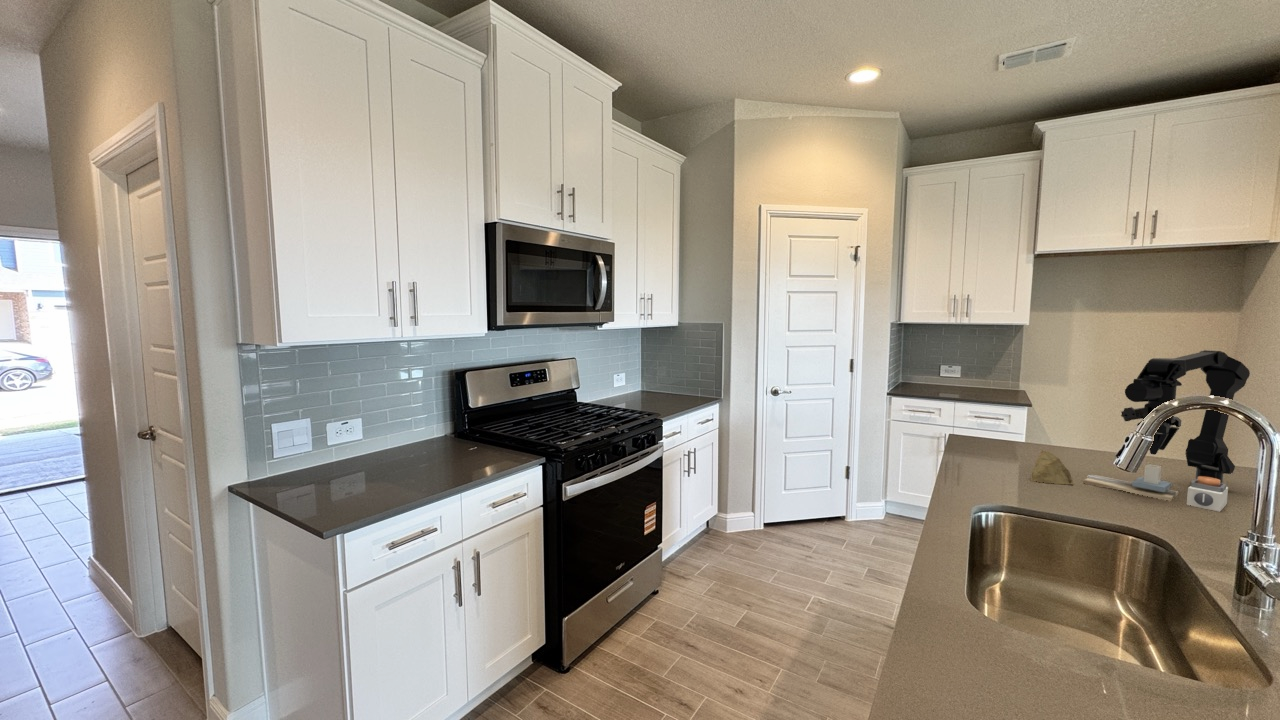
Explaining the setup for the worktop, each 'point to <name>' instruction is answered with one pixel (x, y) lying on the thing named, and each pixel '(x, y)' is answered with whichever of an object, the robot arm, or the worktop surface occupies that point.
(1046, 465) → the rock
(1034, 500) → the worktop surface
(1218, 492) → the gauge cabinet
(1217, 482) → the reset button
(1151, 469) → the carriage
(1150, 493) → the rail
